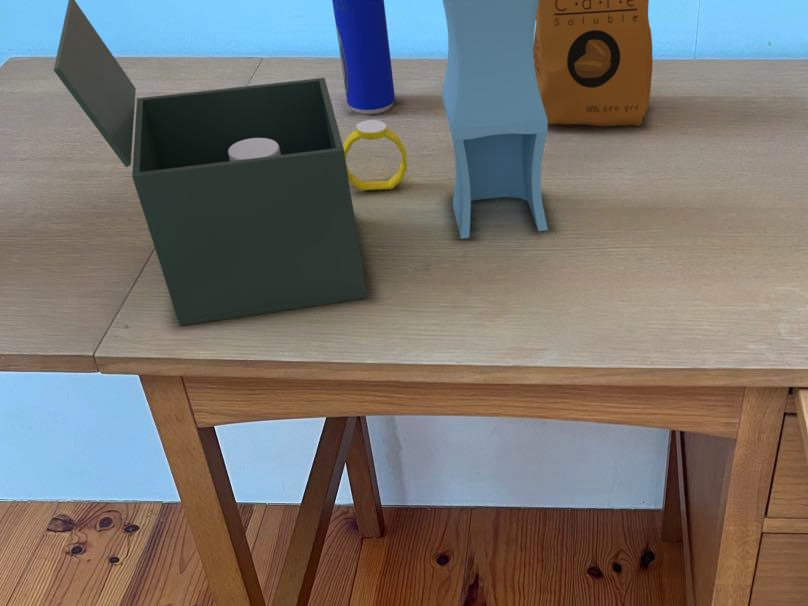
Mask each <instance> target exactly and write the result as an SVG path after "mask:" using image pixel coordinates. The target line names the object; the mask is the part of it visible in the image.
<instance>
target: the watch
mask: <svg viewBox="0 0 808 606" xmlns="http://www.w3.org/2000/svg"><path fill="white" fill-rule="evenodd" d="M383 138H386V139H388V140H390V141H391V142H393V143H394V144H395V145H396V147H397V148H398V150H399V151H400V155H401V162H400V165H399V168H398V170H397V173H395V174H394V175H392V177H390V179H388V180H365V181H364V180H363V181H362V180H361V179H359V178H358V177H356V176H355V175H354V174H352V172H351V170H350V168H349V166H348V164H347V163H346V166H347V172H348V179H349V184H351V185H352V186H354V187H355V188H356V189H358V190H359V191H361V192H364V191H374V190H375V191H376V190H393V189H394V188H395V187H396V186H398V185H399V184H400V183H401V182H402V180H403V179H404V177H405V174H406V172H407V169H408V160H407V159H408V158H407V152H406V148H405V145H404V143H403V142H402V141H401V139H400V138H399V136H398V134H396V133H395V132H394V131H392V130H390V129H389V128H388V125H387V124H386V122H383V121H381V120H376V119H367V120H363V121H360V122H358V123H357V124H356V126H355V130H354V131H352V132H351V133H349V135H347V137H346V139H345V141H344V142H343V143H342V145H343V148H344V153H345V160H346V161H347V154H348V153H349V151H350V149H351V147H352V146H353V144H354V143H355V142H357V141H358V140H360V139H363V140H368V141H369V140H370V141H371V140H372V141H373V140H379V139H383Z"/></svg>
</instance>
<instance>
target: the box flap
mask: <svg viewBox="0 0 808 606" xmlns="http://www.w3.org/2000/svg"><path fill="white" fill-rule="evenodd" d="M53 72H54V73H55V74H56V75H57V77H58V79H59V80H60V81H61V82H62V84H63V85H64V86H65V88H66V89H67V90H68V91H69V93H70V95H71V96H72V97H73V99H74V100H75V101H76V103H77V104H78V105H79V107H80V108H81V109H82V111H83V112H84V114H86V116H87V117H88V118H89V120H90V122H92V124H93V125H94V127H95V128H96V129H97V131H98V132H99V133H100V135H101V136H102V138H103V139H104V140H105V141H106V143H107V144H108V145H109V147H110V148H111V150H112V151H113V152H114V154H115V155H116V156H117V157H118V159H119V160H120V161H121V163H122V164H123V166H124V167H125V168H128V167H130V166H131V165H132V153H133V152H132V150H133V136H134V122H135V109H136V108H135V106H136V105H135V104H136V90H137V88H136V87H135V85H134V84H133V82H132V81H131V80H130V78H129V77H128V75H127V73H126V72H125V71H124V70H123V68H122V67H121V65H120V63H119V62H118V60H117V59H116V58H115V56H114V55H113V53H112V51H110V49H109V48H108V46H107V45H106V43H105V41H103V39H102V38H101V36H100V35H99V33H98V32H97V30H96V29H95V27H94V26H93V24H92V23H91V21H89V19H88V17H87V16H86V14H85V13H84V11H83V10H82V9H81V7H80V5H79V4H78V3H77V1H76V0H68V2H67V7H66V11H65V16H64V20H63V24H62V29H61V34H60V39H59V44H58V48H57V52H56V57H55V62H54V66H53Z"/></svg>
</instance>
